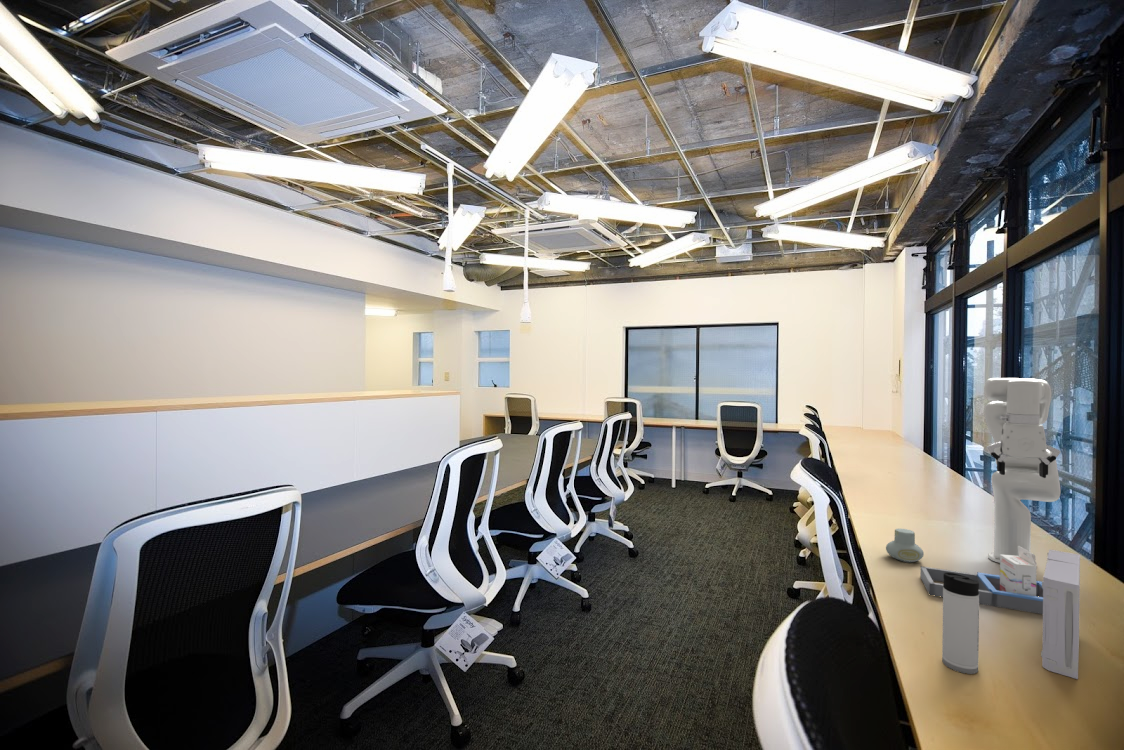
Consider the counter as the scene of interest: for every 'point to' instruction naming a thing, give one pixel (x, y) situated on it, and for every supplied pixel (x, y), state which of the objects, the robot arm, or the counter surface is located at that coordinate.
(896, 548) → the air freshener
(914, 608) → the counter surface
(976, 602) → the travel mug
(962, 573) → the organiser
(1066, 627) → the game console
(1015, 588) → the ink cartridge box
